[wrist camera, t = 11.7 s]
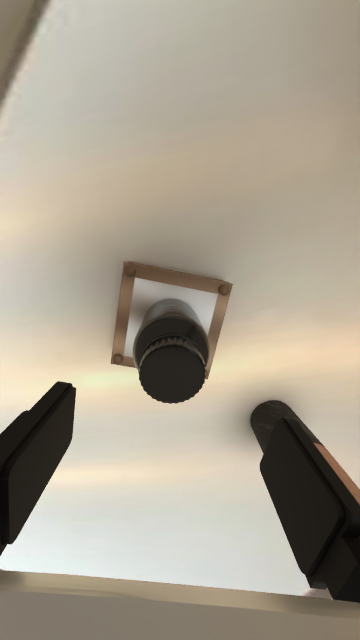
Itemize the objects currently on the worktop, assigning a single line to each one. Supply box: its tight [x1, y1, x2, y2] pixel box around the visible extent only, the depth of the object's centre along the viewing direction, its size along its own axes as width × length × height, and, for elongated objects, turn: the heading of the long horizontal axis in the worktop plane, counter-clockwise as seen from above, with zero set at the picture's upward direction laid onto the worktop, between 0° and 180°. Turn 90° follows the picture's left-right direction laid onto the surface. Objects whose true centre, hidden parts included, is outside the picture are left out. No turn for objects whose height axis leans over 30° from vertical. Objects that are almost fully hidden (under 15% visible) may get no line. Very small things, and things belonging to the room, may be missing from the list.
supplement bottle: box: [132, 299, 211, 404], centre depth 20 cm, size 7×7×12 cm
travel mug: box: [251, 401, 360, 504], centre depth 26 cm, size 8×8×20 cm
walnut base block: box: [111, 262, 233, 379], centre depth 28 cm, size 13×13×4 cm
